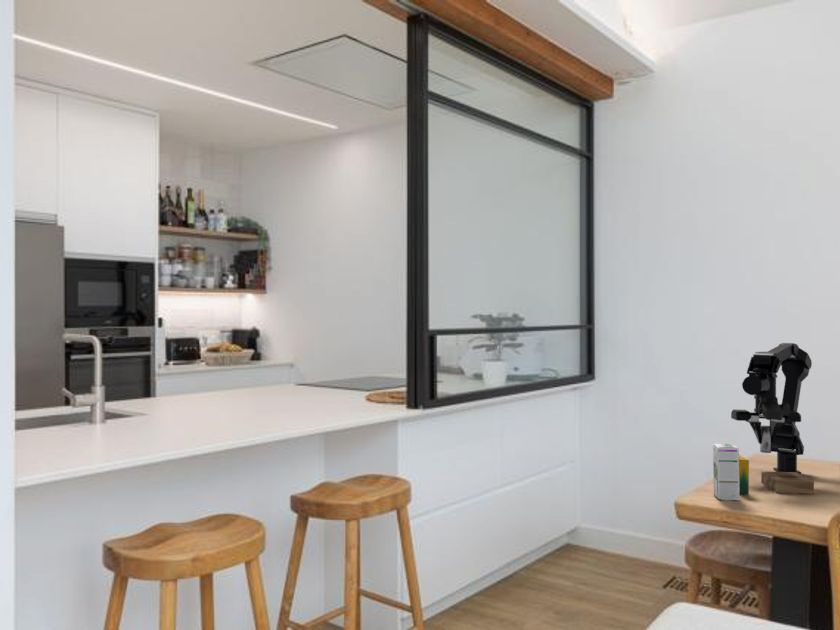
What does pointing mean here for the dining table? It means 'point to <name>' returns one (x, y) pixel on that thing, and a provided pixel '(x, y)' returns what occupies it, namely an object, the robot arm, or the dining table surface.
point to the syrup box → (726, 471)
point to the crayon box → (743, 475)
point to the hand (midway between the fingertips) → (765, 443)
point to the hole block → (787, 482)
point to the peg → (765, 439)
